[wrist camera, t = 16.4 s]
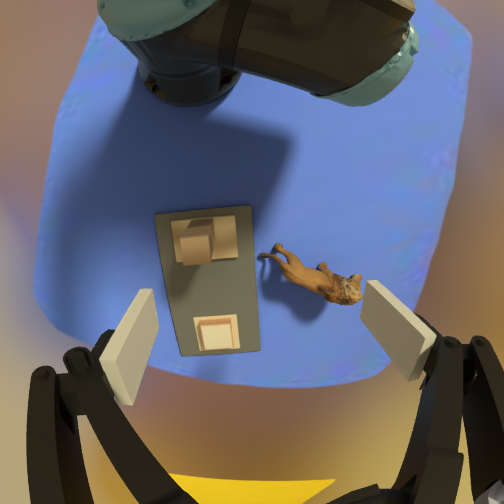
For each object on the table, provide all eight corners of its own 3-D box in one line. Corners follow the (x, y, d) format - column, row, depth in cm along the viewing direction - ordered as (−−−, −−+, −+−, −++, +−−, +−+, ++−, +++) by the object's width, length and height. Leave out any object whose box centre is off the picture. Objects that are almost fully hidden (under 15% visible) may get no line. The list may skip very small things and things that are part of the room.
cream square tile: (200, 319, 44) (199, 325, 42) (230, 317, 44) (231, 323, 42) (204, 344, 45) (204, 350, 43) (233, 342, 45) (234, 348, 44)
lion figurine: (349, 260, 43) (374, 283, 35) (337, 289, 45) (359, 316, 36) (263, 237, 41) (273, 258, 32) (253, 270, 42) (260, 297, 34)
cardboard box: (171, 220, 38) (152, 241, 28) (234, 214, 39) (236, 233, 29) (177, 260, 40) (162, 292, 30) (237, 255, 41) (241, 286, 30)
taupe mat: (155, 214, 38) (154, 215, 38) (251, 205, 39) (251, 205, 39) (182, 353, 46) (181, 356, 46) (260, 348, 47) (260, 350, 46)
